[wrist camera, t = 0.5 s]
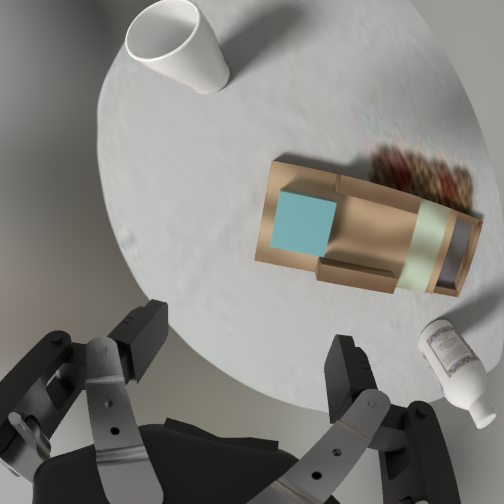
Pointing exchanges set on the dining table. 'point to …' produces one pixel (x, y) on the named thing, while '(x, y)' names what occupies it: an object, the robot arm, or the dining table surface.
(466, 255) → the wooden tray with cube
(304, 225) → the block
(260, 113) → the dining table surface
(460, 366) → the bath foam
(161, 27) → the drinking glass
